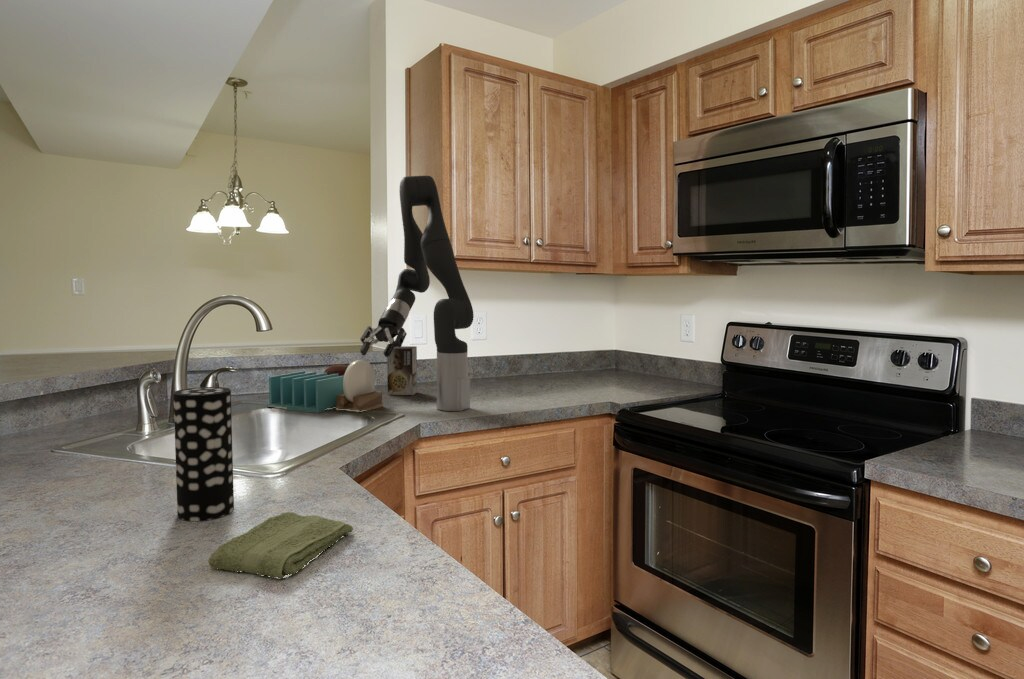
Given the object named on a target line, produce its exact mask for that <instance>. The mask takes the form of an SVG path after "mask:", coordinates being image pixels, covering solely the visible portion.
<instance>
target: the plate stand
mask: <svg viewBox="0 0 1024 679" xmlns="http://www.w3.org/2000/svg"><path fill="white" fill-rule="evenodd" d="M382 407H384V403H383V391H377V390H376V391H374V390H373V392H370V393H366V394H363V395H359V396H355V397H353V403H351V402H350V401H348V399H347V398H346V396H345V394H340V395H337V407H336V408H338V409H350V410H359V411H362V410H369V411H371V409H372V410H375V409H378V408H382ZM336 408H335V409H336Z"/></svg>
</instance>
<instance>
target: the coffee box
mask: <svg viewBox="0 0 1024 679" xmlns="http://www.w3.org/2000/svg"><path fill="white" fill-rule="evenodd" d="M417 354H418V351H417V346H408V345H407V346H406V345H405V346H404V345H402V346H401V347H395V348H394V349H393V351H392V353H391V355H390V356H388V357H386V364H387V365H386V367H387V369H386V371H387V378H386V379H387V384H386V385H387V396H388V395H392V396H396V395H398V396H401V395H402V396H414V395H415V394H416V393H418V364H417V362H418V360H417V358H418V357H417Z"/></svg>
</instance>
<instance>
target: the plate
mask: <svg viewBox="0 0 1024 679" xmlns="http://www.w3.org/2000/svg"><path fill="white" fill-rule="evenodd" d="M347 366H348V368H347V369H346V372H345V374H344V379H343V390H344V394H345V396H346V398H347V399H348V401H350V402H351V403H353V397H355V396H359V395H363V394H366V393H370V392H374V389H375V384H376V374H375V370H374V368H373V366H372V364H371V363H370V362H369V361H366V360H362V359H361V360H360V359H357V360H353V361H352V362H350V364H349V365H347Z"/></svg>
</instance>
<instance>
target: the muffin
mask: <svg viewBox="0 0 1024 679" xmlns="http://www.w3.org/2000/svg"><path fill="white" fill-rule="evenodd" d="M348 366H349V365H346V364H333V365H330V366H328V367H327V368H325V370H324V371H323V373H327V375H332V374H339V376H343V375H344V374H345V372H346V369H347V368H348Z"/></svg>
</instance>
